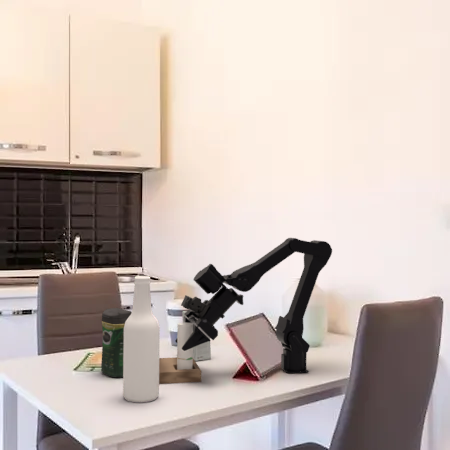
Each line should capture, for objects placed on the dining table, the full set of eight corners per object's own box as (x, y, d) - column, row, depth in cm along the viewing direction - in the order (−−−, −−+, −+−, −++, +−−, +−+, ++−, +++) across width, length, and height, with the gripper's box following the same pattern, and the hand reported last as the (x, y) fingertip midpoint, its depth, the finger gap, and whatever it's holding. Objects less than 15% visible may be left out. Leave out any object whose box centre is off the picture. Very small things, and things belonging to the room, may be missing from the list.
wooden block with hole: (192, 366, 175) (192, 356, 175) (201, 381, 159) (201, 370, 159) (145, 368, 172) (145, 358, 172) (149, 384, 156) (149, 373, 156)
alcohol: (128, 404, 139) (129, 278, 139) (119, 394, 147) (120, 275, 147) (163, 400, 143) (164, 277, 142) (153, 390, 151) (154, 274, 150)
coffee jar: (138, 375, 165) (139, 309, 165) (113, 380, 160) (114, 312, 160) (121, 368, 173) (121, 305, 172) (96, 372, 168) (97, 307, 167)
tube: (177, 379, 161) (177, 325, 161) (176, 375, 165) (177, 322, 165) (192, 379, 162) (193, 325, 161) (192, 375, 166) (192, 322, 166)
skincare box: (211, 359, 185) (211, 312, 184) (194, 361, 181) (195, 313, 181) (197, 353, 192) (198, 308, 191) (181, 356, 188) (181, 310, 188)
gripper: (191, 281, 173) (154, 320, 170) (206, 289, 155) (165, 333, 152) (217, 307, 175) (180, 346, 173) (234, 318, 157) (194, 361, 155)
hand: (179, 346), depth 163 cm, fingers open, 9 cm apart
